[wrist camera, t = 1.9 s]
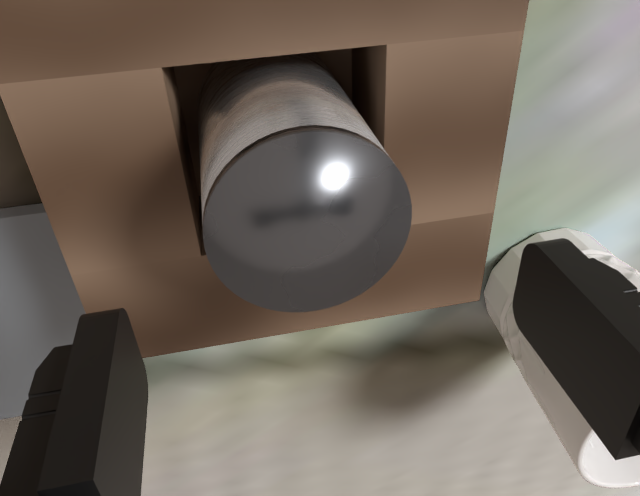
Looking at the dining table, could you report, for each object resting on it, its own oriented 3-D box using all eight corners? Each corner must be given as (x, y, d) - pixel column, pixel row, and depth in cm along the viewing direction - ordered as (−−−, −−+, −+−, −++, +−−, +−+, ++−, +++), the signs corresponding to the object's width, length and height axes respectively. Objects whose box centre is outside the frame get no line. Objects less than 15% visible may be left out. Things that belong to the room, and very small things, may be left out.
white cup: (447, 322, 30) (541, 487, 22) (520, 202, 27) (665, 348, 19) (556, 339, 33) (675, 491, 25) (637, 232, 29) (807, 371, 21)
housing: (0, -117, 16) (-81, -109, 11) (454, -142, 18) (553, -145, 13) (122, 264, 24) (105, 364, 19) (424, 219, 26) (479, 300, 21)
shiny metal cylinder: (185, 44, 18) (183, 147, 11) (337, 30, 18) (418, 119, 12) (210, 182, 20) (220, 326, 14) (340, 165, 21) (406, 295, 15)
